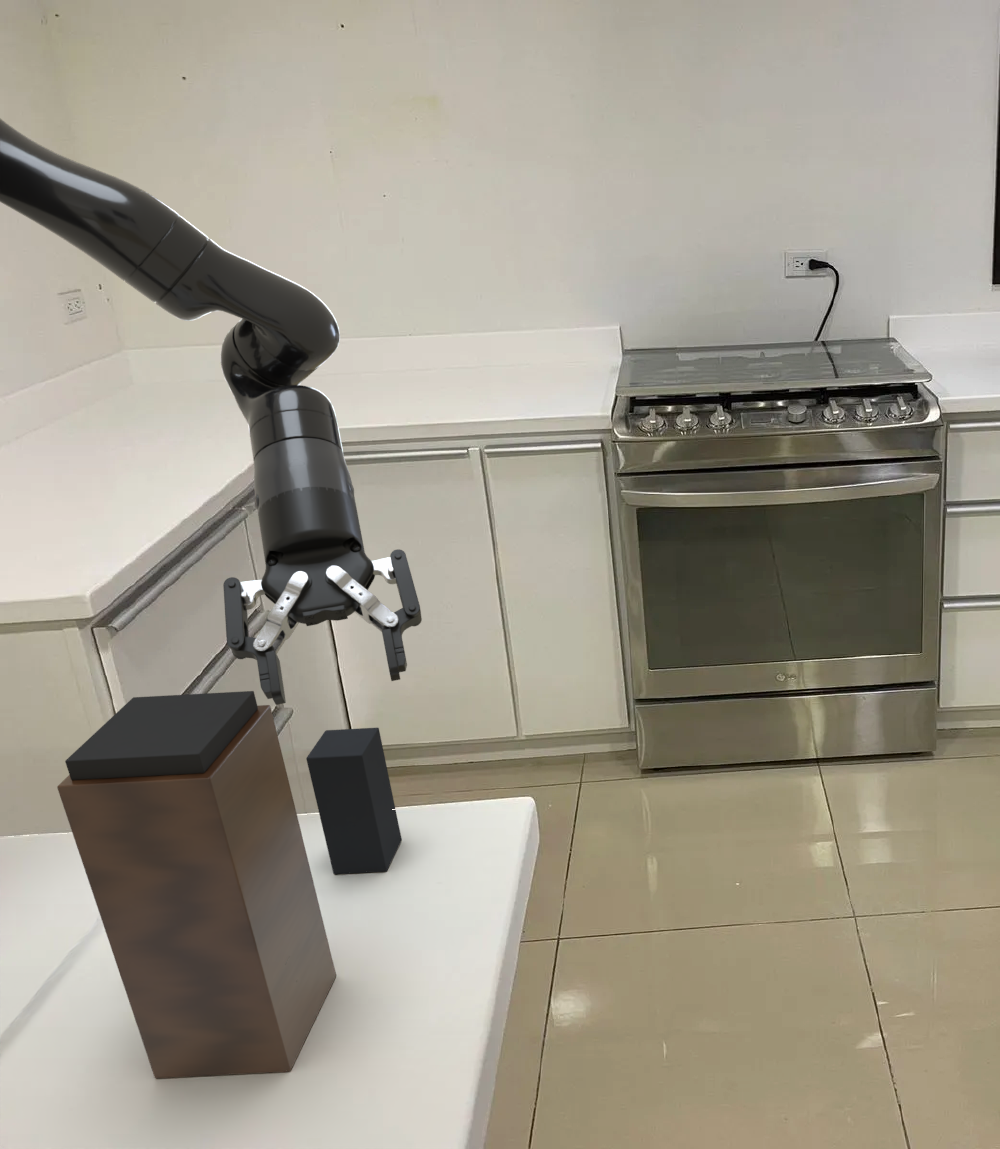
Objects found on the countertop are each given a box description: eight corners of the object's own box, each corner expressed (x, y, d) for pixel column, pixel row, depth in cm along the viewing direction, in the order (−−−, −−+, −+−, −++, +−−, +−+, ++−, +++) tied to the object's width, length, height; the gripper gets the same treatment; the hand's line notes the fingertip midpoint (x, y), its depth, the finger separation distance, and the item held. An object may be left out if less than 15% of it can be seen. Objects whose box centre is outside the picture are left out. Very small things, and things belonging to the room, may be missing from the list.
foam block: (333, 874, 83) (305, 758, 79) (350, 842, 87) (325, 729, 83) (386, 871, 83) (361, 755, 79) (402, 839, 87) (379, 726, 83)
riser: (154, 1078, 65) (55, 786, 58) (214, 982, 73) (134, 711, 65) (290, 1071, 65) (209, 778, 58) (337, 975, 73) (270, 704, 65)
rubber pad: (70, 780, 58) (64, 760, 58) (138, 715, 65) (133, 696, 65) (204, 773, 58) (198, 753, 58) (258, 708, 65) (253, 690, 64)
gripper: (400, 514, 98) (434, 686, 92) (222, 542, 93) (247, 724, 87) (393, 471, 91) (430, 653, 85) (202, 498, 87) (227, 693, 81)
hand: (337, 689), depth 86 cm, fingers open, 8 cm apart
